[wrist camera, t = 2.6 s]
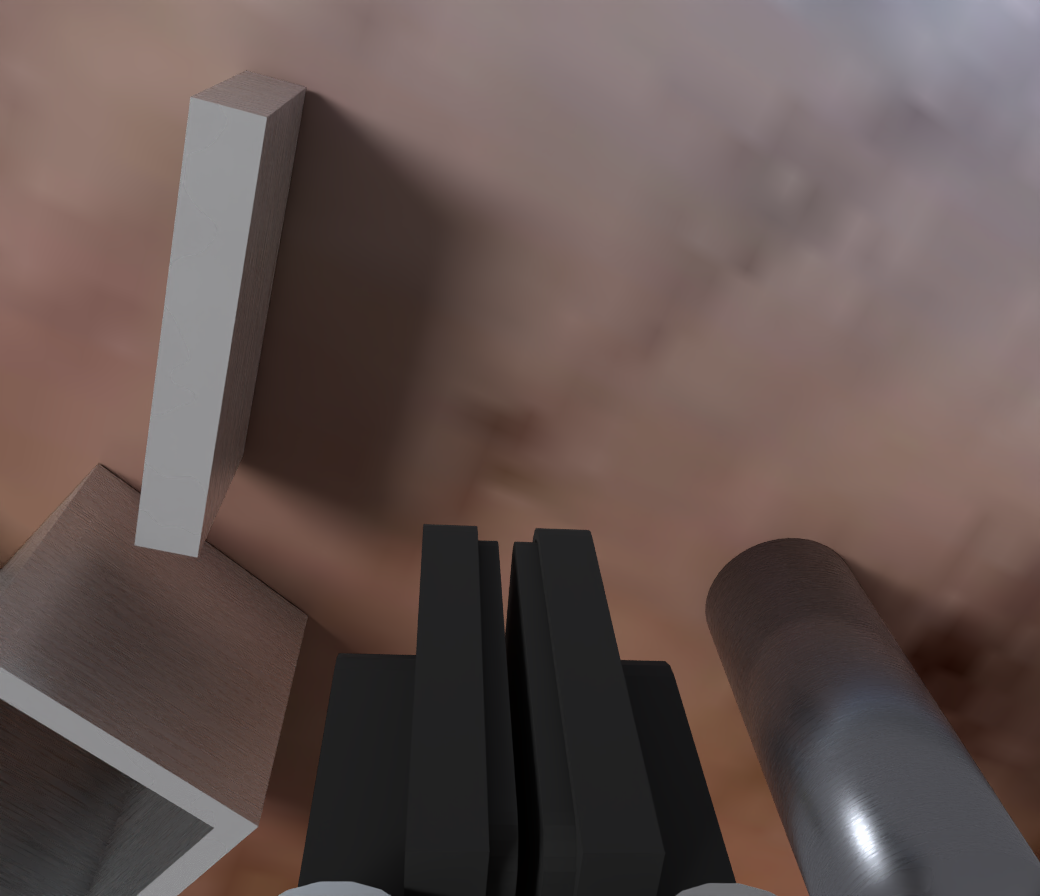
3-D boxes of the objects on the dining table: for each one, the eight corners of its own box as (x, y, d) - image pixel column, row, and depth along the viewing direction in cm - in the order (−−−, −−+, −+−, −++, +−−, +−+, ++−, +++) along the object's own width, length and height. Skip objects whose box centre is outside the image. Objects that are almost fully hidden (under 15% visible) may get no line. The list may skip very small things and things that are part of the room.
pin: (883, 600, 26) (1102, 925, 17) (767, 687, 27) (916, 1035, 19) (793, 510, 25) (979, 813, 16) (674, 605, 26) (787, 939, 17)
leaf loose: (243, 455, 23) (197, 557, 19) (191, 444, 23) (134, 545, 19) (306, 86, 20) (267, 117, 16) (246, 70, 20) (190, 96, 16)
